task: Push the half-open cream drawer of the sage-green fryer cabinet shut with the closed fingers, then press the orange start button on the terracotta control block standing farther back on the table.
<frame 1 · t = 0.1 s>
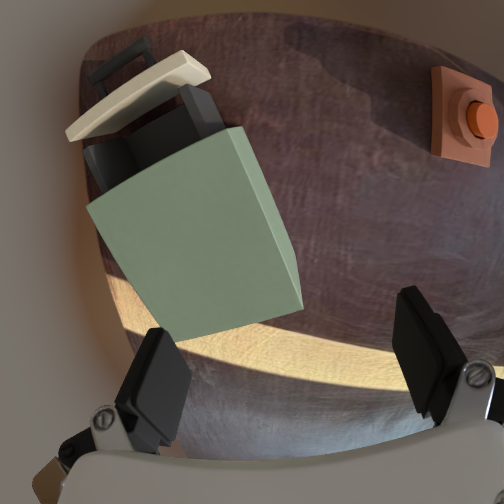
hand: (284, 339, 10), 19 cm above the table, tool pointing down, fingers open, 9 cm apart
control block: (458, 117, 21), on the table
fryer: (214, 215, 29), on the table
start button: (482, 120, 17), point 4 cm above the table, slide at 0.1 cm
fryer drawer: (157, 138, 21), point 5 cm above the table, slide at 5.5 cm
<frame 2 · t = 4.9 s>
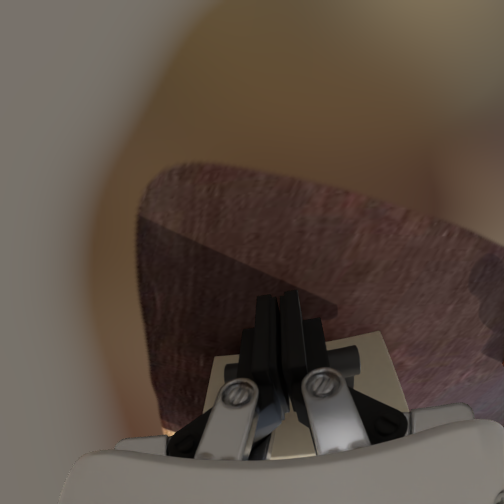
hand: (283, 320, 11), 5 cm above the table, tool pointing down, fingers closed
fryer drawer: (307, 427, 16), point 5 cm above the table, slide at 3.9 cm, touching gripper
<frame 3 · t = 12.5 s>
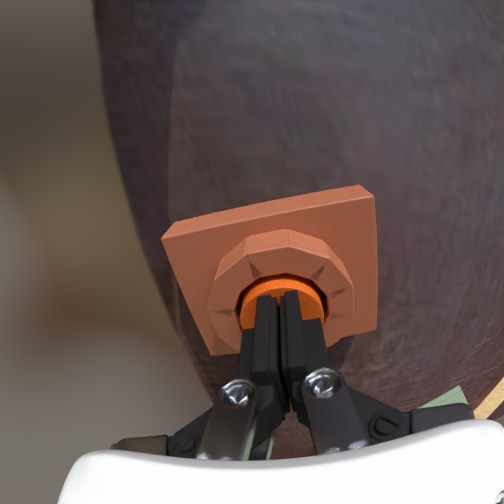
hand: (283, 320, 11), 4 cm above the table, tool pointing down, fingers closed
control block: (279, 269, 16), on the table
fryer: (409, 430, 25), on the table
start button: (281, 309, 12), point 4 cm above the table, slide at -0.8 cm, touching gripper
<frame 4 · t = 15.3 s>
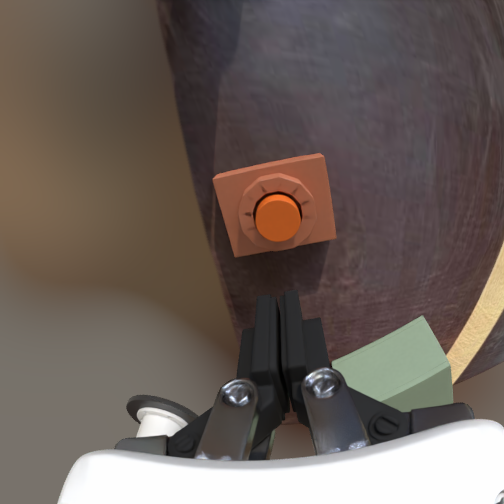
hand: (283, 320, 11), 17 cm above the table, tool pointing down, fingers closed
control block: (276, 202, 27), on the table
fryer: (388, 362, 36), on the table
start button: (277, 217, 23), point 4 cm above the table, slide at 0.1 cm
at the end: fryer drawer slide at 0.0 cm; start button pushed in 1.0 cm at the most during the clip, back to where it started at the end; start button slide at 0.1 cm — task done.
